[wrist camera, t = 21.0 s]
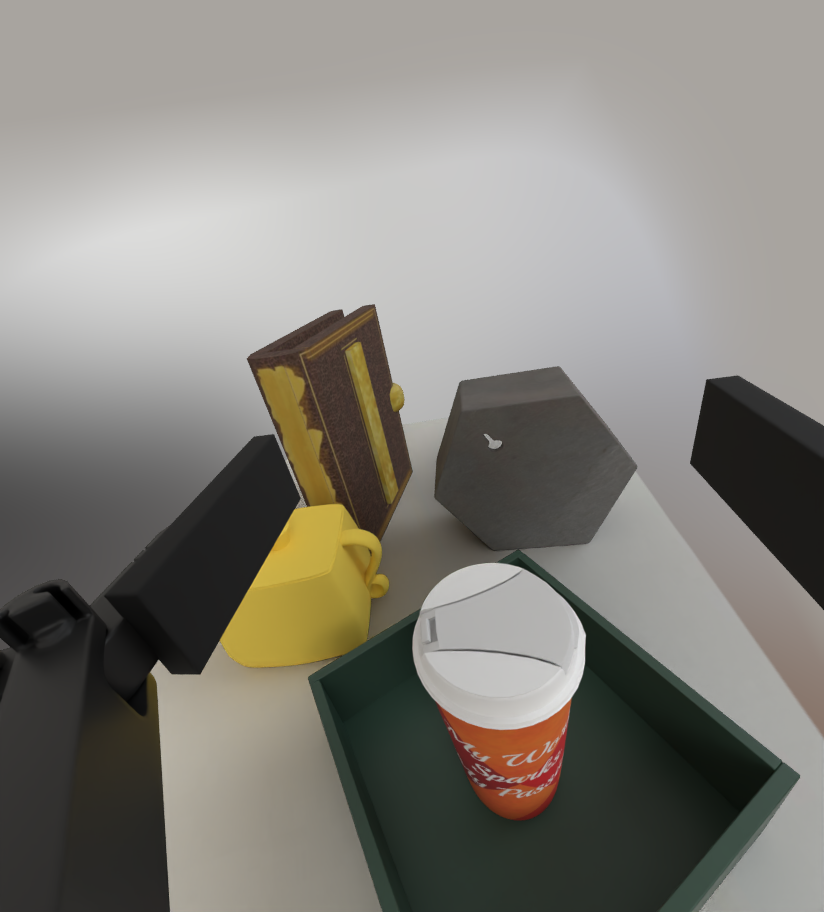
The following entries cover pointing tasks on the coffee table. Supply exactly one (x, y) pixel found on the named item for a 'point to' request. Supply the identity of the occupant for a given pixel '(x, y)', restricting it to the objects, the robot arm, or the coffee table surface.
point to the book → (338, 414)
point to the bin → (577, 796)
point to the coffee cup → (502, 679)
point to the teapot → (309, 593)
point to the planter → (529, 461)
